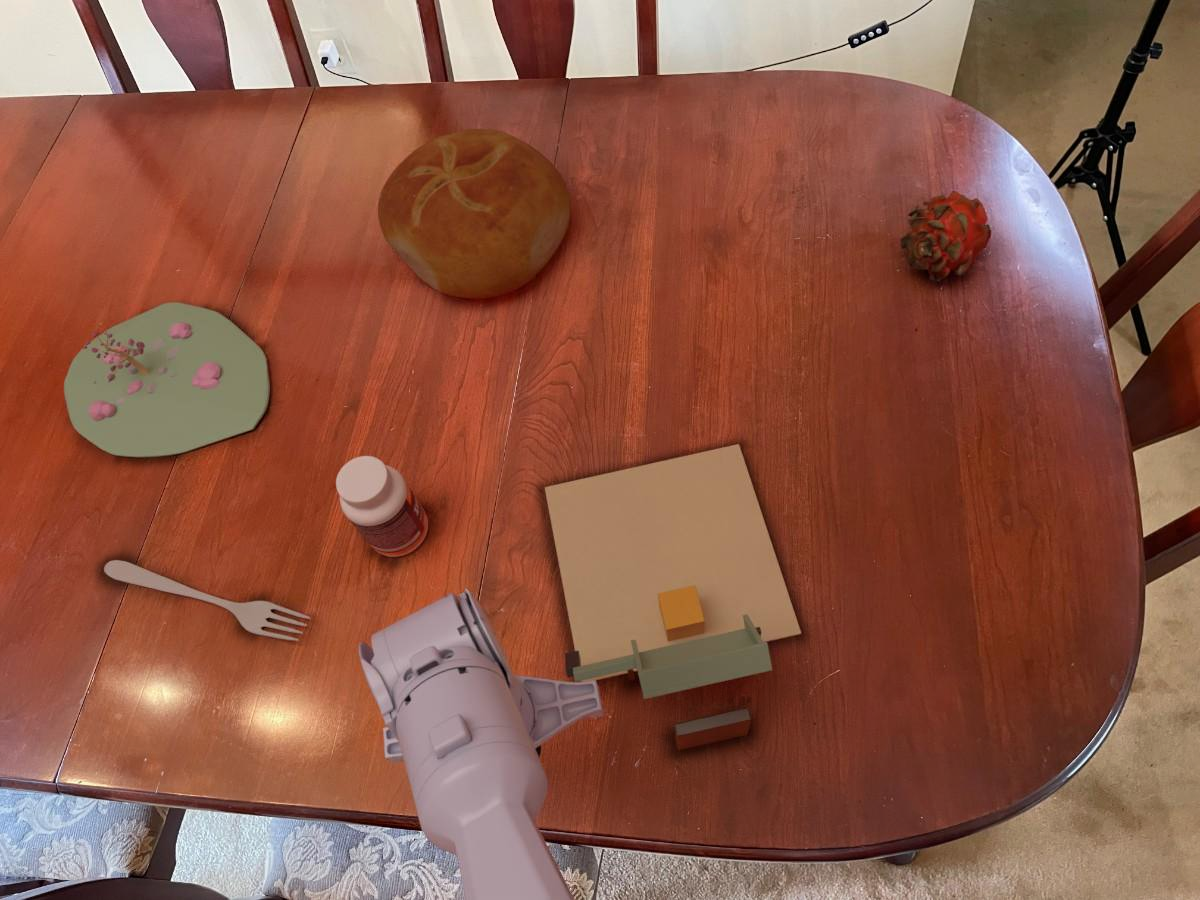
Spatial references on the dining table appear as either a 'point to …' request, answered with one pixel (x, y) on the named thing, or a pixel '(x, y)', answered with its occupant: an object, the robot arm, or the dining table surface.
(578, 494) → the mat
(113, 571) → the fork
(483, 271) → the bread
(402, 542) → the pill bottle
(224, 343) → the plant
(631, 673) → the stand
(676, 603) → the block
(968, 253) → the dragon fruit
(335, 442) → the dining table surface
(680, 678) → the tray
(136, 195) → the dining table surface
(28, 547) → the dining table surface
